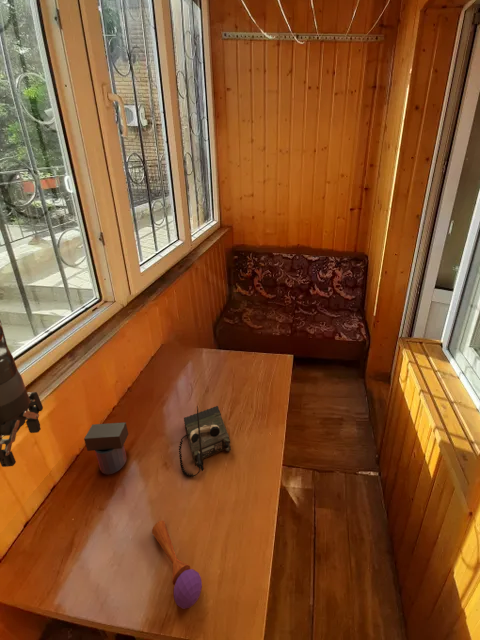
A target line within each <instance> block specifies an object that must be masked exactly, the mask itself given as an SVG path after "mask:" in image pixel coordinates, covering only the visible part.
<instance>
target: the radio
mask: <svg viewBox="0 0 480 640" xmlns="http://www.w3.org/2000/svg"><path fill="white" fill-rule="evenodd" d="M183 422H184V423H183V425H184V430H185V433H186V434H185V435H184V436H182V437H181V438H180V441H179V445H178V455H179V456H178V457H179V465H180V468H181V473H183V474H184V476H186V477H190V478H191V477H192V478H193V477H196V476H197V475H198V474H200V471H201V472H204V462H203V461H204V459H206V458H209V457H211V456H212V455H215V454H218V453H220V452H223V451H225V452H228V453H229V452H231V451H232V448H231V439H230V435H229V433H228V430H227V428H226V426H225V423H224V419H223V417H222V412H221V410H220V409H219V405H216V406H213V407H211V408H207V409H204V410H203V411H199V407H198V405H197V406H196V413H194V414H191V415H188V416H186V417H185V416H184V417H183ZM186 437H187V439H188V444H189V448H190V452H191V456H192V460H193V461H192V462H193V463H194V467H197V468H198V471H197V473H195V474H193V473H189V472H187V471H186V469H185V466H184V464H183V455H182V447H183V446H182V445H183V443H184V440H183V439H185V438H186Z"/></svg>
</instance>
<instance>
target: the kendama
mask: <svg viewBox="0 0 480 640" xmlns="http://www.w3.org/2000/svg"><path fill="white" fill-rule="evenodd" d="M151 533H152V535H153V536H154V538H155V540H156V541H157V543H158V544H159V545H160V547H161V548H162V550H163V552H164V553H165V554H166V556H167V558H168V559H169V560H170V562H171V564H172V585H173V586H174V587H173V599H174V602H175V604H176V606H178V607H179V608H180V609H183V610H184V609H185V610H186V609H189V608H191V607H193V606H194V605H195V604H196V603H197V602H198V600H199V598H200V597H201V592H202V588H203V584H202V583H203V582H202V577H201V575H200V573H199V572H198V571H197V570H195V569H193V568H191V566H190V565H189V564H187V563H185V562H183V561H181V560H179V559H178V557H177V555H176V552H175V549H174V546H173V543H172V540H171V537H170V534H169V531H168V528H167V525H166V522H165V520H159V521H157V522H156V523H155V524H154V526H153V527H152V529H151Z"/></svg>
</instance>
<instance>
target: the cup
mask: <svg viewBox="0 0 480 640" xmlns="http://www.w3.org/2000/svg"><path fill="white" fill-rule="evenodd" d="M94 452H95V453H94V454H95V457H96V459H97V463H98V467H99V470H100V473H102V474H103V475H113V474H115V473H117V472H118V471H120V470H122V468H123V467H124V466H125V465H126V463H127V458H128V457H127V451H126V448H125V444H124V445H123V448H122V449H108V450H94Z"/></svg>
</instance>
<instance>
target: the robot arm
mask: <svg viewBox="0 0 480 640" xmlns="http://www.w3.org/2000/svg"><path fill="white" fill-rule="evenodd" d="M18 369H19V368H18V367H17V364H16V360H15V359H14V356H13V354H12V352H11V350H10V348H9V346H8V343H7V340H6V336H5V332H4V328H3V324H2V321H1V320H0V465H1V467H2V468H7V467H14V466H15V464H16V463H17V461H16V458H15V456H14V453H13V451H12V446H13V443H14V442H16V438H17V433H18V432H19V431H20V429H21V428H22V427H23V426H24V424H25V423H26V427H27V429H28V432H29V434H36V433H37V434H38V433H39V432H40V431H41V429H42V427H41V423H40V420H39V417H40V414H39V413H40V412H42V411H43V409H44V406H43V403H42V401H41V399H40V396H39V394H38V392H37V391H31V392H30V391H29V392H28V391H27V387H26V384H25V382H24V379H23V377H22V375H21V373H20V371H19V370H18ZM3 437H8V438H3ZM3 445H5V447H4V449H3Z"/></svg>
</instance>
